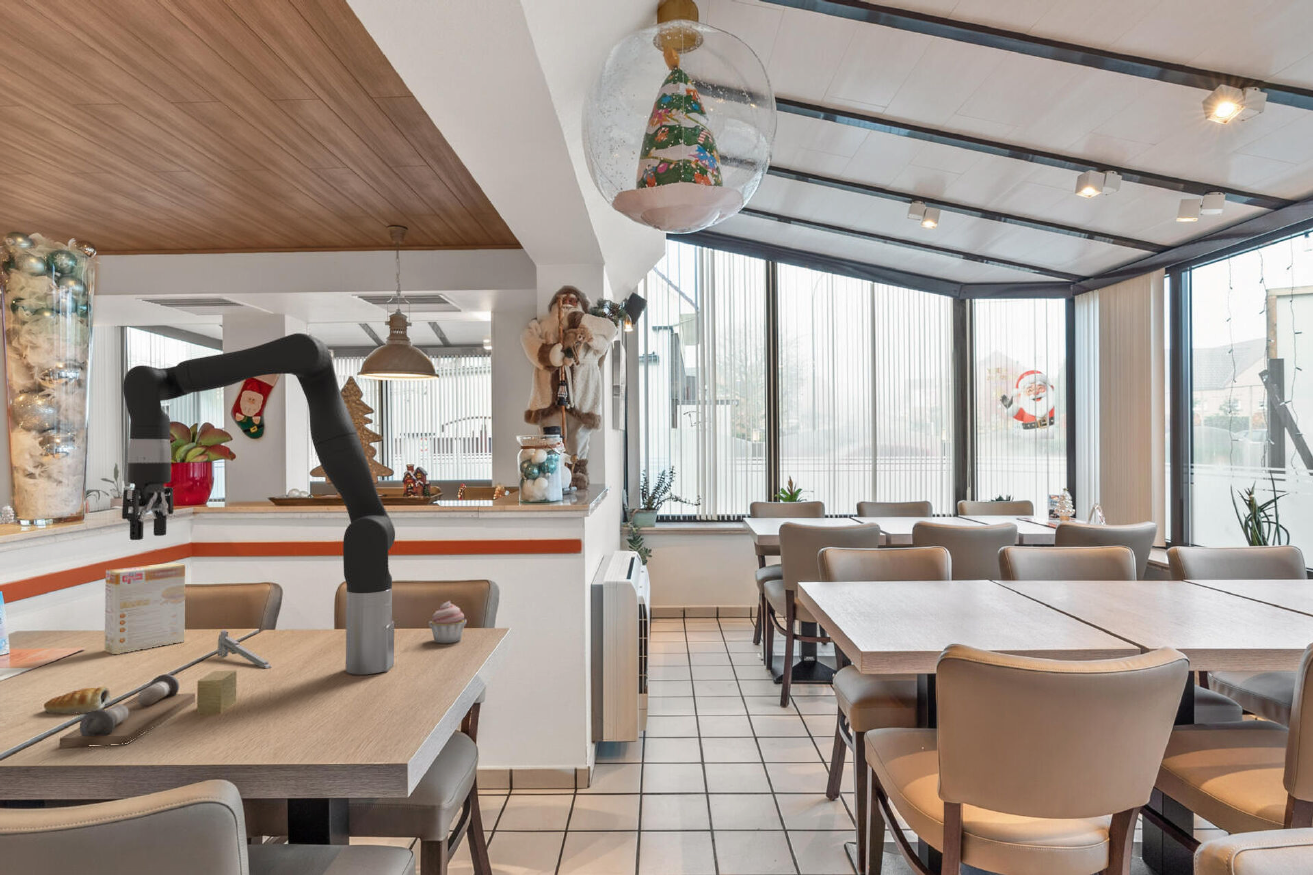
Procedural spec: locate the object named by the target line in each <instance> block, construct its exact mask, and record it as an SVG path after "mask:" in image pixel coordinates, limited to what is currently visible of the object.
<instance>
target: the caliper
mask: <svg viewBox="0 0 1313 875" xmlns="http://www.w3.org/2000/svg"><path fill="white" fill-rule="evenodd" d="M228 635H229V631H227V630H226V629H223V630H221V631H220V634H219V635H218V641H217V656H218V657H219V656H220V657H222V658H225V657H228V656H229V653H230V654H232V655H237V654H238V655H239V656H240V657H243V658H244V659H246V660H247V661H249V662H250V663H252V664H254V665H256V666H257V667H259V668H261V669H262V668H263V669H271V668H272V666H271V664H269V660H266V659H264V658H263V657H261V656H259V655H258V654H256V653H254V652H252V651H251V650H250V649H249V650H248V649H247V648H246V647H244V646H242V645H241V644H240V642H239V641H237V640H236V639H234V638H232V637H231V636H228Z"/></svg>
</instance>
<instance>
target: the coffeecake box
mask: <svg viewBox="0 0 1313 875" xmlns="http://www.w3.org/2000/svg"><path fill="white" fill-rule="evenodd" d="M104 583H105V585H104V586H105V590H104V592H105V593H104V594H105V596H104V600H105V602H104V604H105V605H104V651H105V650H106V651H108V652H107V653H109V652H110V654H111V653H112V655H113V654H117V655H121V653H122V654H125V653H124V652H128V653H132V652H131V651H133V652H136V651H135V650H138V651H141V650H140V649H143V650H147V649H148V648H149V649H153V648H152V647H154V648H158V646H160V647H163V646H162V645H165V646H169V644H170V645H173V643H176V644H180V642H181V643H184V642H185V637H186V636H185V635H186V634H185V628H186V626H185V625H186V624H185V623H186V622H185V618H186V617H185V616H186V613H185V607H186V604H185V603H186V602H185V601H186V598H185V597H186V590H185V589H186V564H183V563H179V562H168V563H160V564H151V565H141V566H134V567H133V566H132V567H124V568H116V569H115V568H114V569H106V570H105V582H104ZM149 649H148V650H149ZM106 651H105V652H106Z"/></svg>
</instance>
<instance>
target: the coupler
mask: <svg viewBox="0 0 1313 875" xmlns="http://www.w3.org/2000/svg"><path fill="white" fill-rule="evenodd" d="M237 672H238V671H237V670H214V671H212V672H210V673H209V674H207V675H205V676H204V677H201V678H200V679H198V680H197V693H196V694H197V697H196V698H197V700H196V701H197V703H196V710H197V711H196V715H214V714H215V713H220V714H222V713H223V712H225V711H226V710H228V709H229V708H231V706H233V705H234V704H235V702H236V703H237ZM232 704H233V705H232ZM227 708H228V709H227ZM224 710H225V711H224ZM221 712H222V713H221ZM212 713H213V714H212ZM215 715H216V714H215Z"/></svg>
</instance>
